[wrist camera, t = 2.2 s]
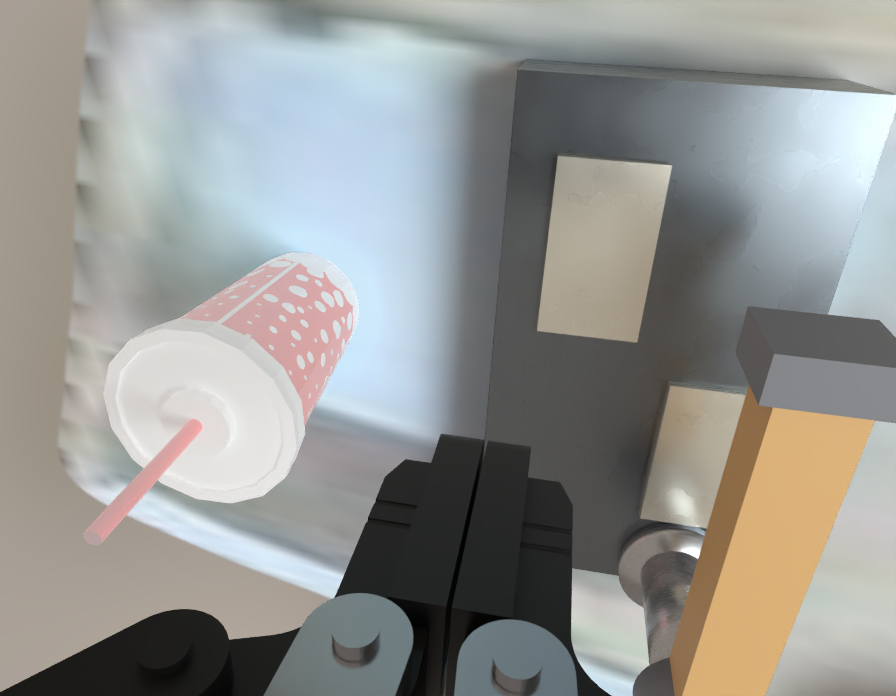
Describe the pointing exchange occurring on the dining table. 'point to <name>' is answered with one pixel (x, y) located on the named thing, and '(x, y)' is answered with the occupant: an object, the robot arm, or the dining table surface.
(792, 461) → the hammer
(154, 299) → the dining table surface
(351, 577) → the robot arm
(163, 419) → the beverage cup
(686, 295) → the grey rectangular block
